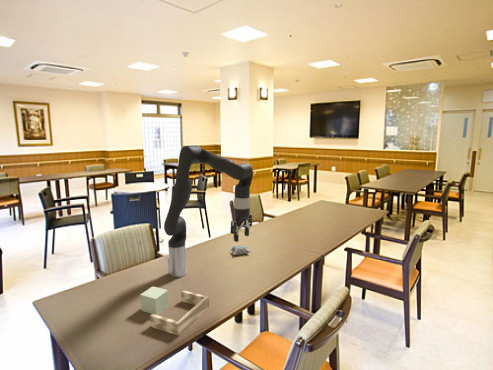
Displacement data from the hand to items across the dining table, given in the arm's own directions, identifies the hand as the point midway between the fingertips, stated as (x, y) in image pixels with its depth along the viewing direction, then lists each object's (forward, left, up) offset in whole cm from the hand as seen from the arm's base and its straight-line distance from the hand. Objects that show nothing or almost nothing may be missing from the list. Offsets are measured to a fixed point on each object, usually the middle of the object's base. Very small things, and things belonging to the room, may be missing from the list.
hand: (241, 238), depth 141 cm
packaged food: (-23, +45, -29) cm, 58 cm away
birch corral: (-16, -27, -29) cm, 43 cm away
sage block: (-31, -27, -29) cm, 50 cm away
